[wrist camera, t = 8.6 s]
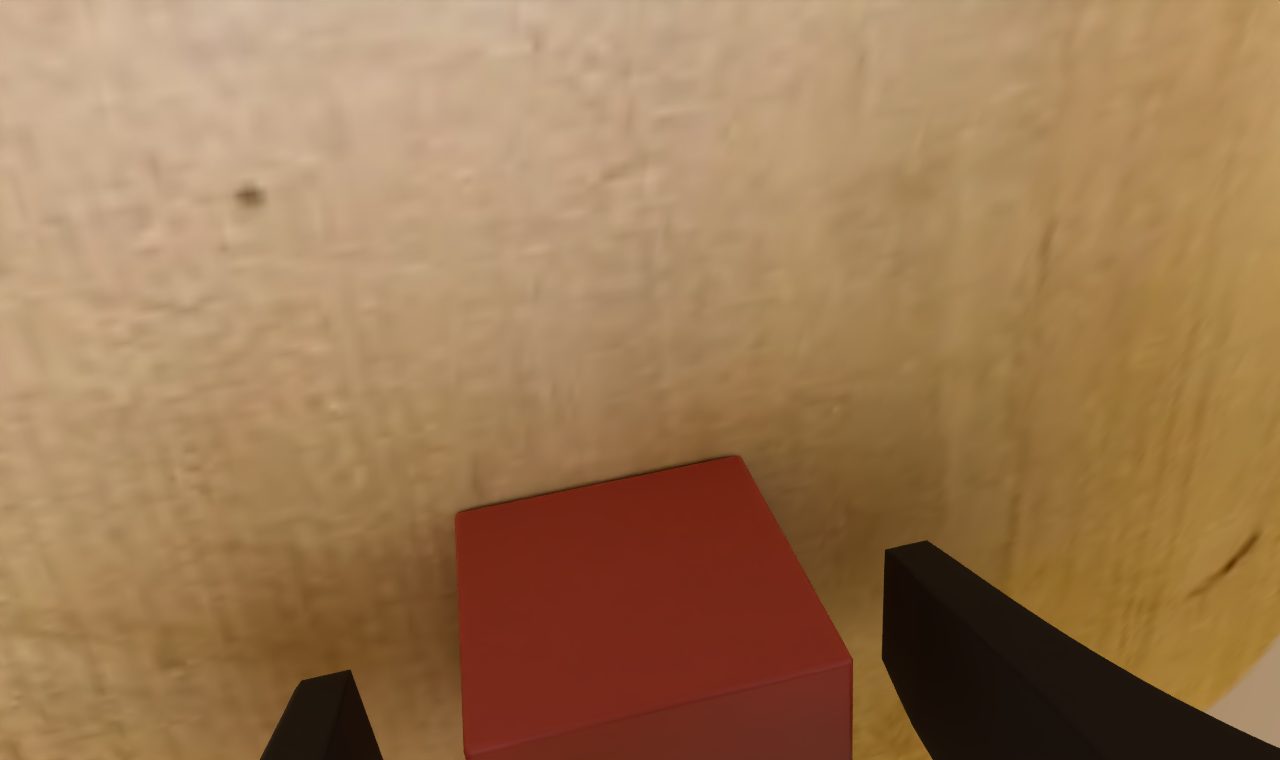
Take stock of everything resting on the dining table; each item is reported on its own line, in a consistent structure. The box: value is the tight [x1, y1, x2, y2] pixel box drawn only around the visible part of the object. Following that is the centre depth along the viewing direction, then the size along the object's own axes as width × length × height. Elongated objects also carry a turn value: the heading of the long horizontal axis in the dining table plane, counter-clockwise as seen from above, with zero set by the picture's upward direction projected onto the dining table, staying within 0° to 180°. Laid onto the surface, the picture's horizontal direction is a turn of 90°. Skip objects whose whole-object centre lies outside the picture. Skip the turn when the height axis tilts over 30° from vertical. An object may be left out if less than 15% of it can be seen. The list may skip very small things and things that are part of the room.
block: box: [455, 456, 853, 760], centre depth 12 cm, size 4×4×4 cm
